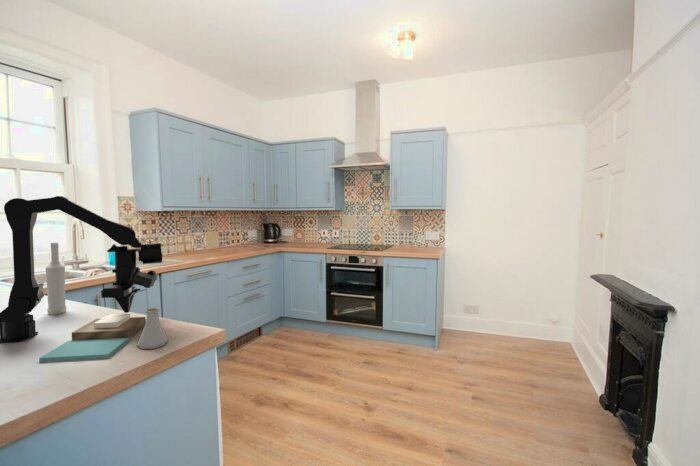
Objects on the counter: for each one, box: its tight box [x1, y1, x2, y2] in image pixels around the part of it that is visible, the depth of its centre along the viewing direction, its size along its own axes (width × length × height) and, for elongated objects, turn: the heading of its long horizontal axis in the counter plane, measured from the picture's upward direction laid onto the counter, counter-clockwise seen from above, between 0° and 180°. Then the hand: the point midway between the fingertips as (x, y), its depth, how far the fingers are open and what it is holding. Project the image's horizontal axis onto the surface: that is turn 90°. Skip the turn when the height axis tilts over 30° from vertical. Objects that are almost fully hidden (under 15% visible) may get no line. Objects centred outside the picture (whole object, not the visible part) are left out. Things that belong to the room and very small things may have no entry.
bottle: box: [45, 241, 67, 316], centre depth 117 cm, size 5×5×25 cm
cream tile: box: [94, 313, 131, 328], centre depth 100 cm, size 6×8×2 cm
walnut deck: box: [71, 316, 146, 340], centre depth 99 cm, size 14×12×3 cm
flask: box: [136, 307, 169, 350], centre depth 91 cm, size 7×7×10 cm
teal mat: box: [38, 338, 130, 363], centre depth 87 cm, size 15×11×1 cm
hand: (126, 312), depth 108 cm, fingers closed
